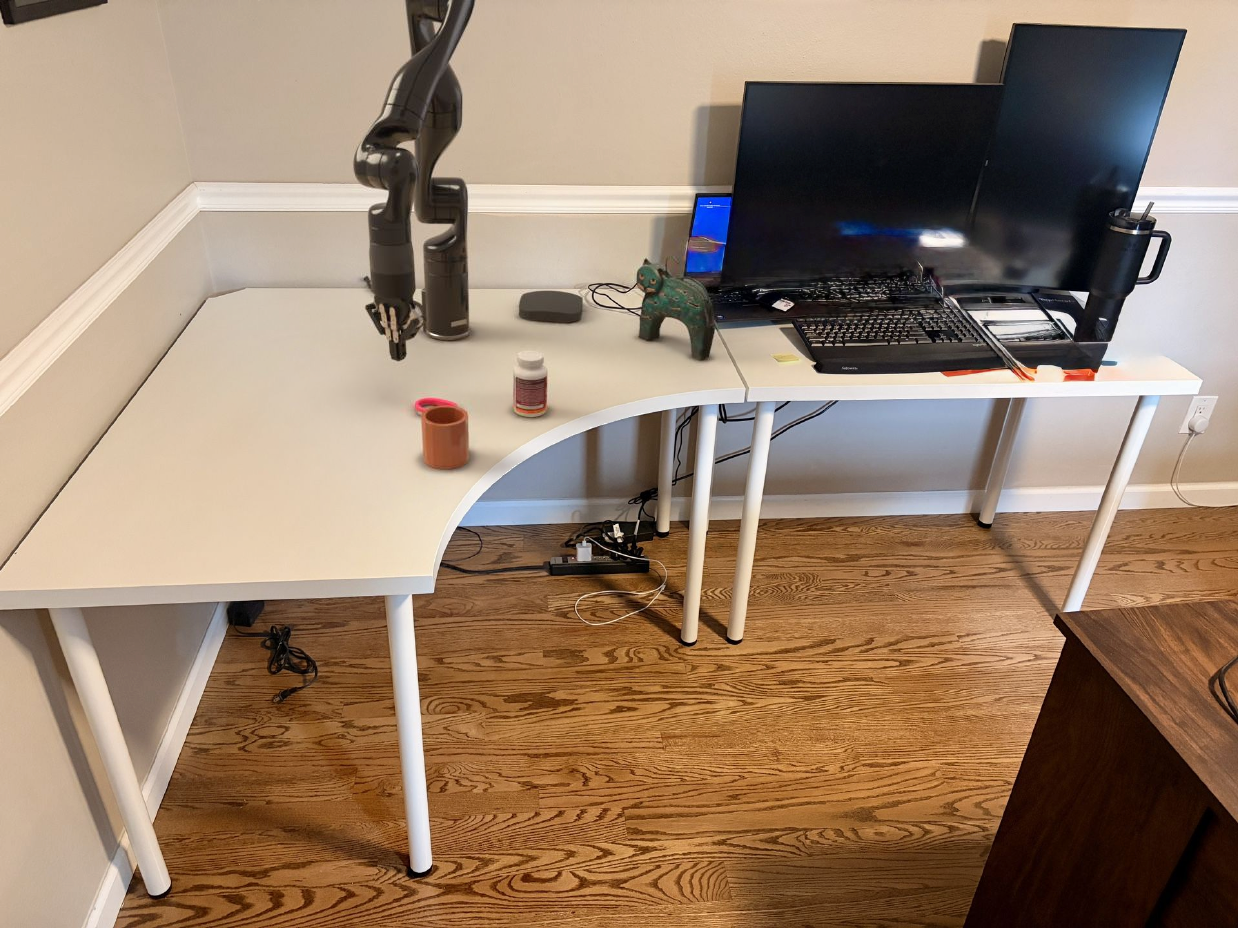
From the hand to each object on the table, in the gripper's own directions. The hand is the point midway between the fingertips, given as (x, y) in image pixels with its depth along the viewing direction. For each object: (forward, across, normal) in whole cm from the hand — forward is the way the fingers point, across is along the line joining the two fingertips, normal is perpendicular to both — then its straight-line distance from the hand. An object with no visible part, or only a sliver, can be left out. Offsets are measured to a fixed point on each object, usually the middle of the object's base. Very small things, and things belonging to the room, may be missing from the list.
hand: (398, 359), depth 165 cm
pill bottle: (+8, -22, -11) cm, 26 cm away
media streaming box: (+8, +6, -57) cm, 57 cm away
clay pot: (+8, -22, +12) cm, 26 cm away
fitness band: (+8, -9, 0) cm, 12 cm away
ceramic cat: (+8, -27, -56) cm, 63 cm away
